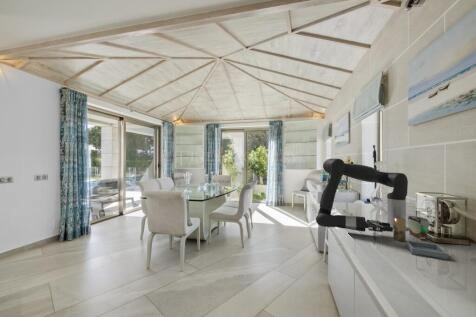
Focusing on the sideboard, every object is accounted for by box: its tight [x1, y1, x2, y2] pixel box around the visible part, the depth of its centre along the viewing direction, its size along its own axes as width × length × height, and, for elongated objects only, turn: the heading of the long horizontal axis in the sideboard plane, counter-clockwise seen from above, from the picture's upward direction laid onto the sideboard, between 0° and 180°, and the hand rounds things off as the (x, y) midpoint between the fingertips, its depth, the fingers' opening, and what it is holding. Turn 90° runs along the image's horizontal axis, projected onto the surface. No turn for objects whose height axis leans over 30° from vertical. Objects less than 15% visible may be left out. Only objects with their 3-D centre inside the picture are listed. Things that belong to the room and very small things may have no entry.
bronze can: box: [392, 217, 407, 243], centre depth 110 cm, size 5×5×11 cm
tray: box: [405, 239, 449, 261], centre depth 95 cm, size 12×12×2 cm
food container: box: [407, 215, 431, 241], centre depth 115 cm, size 12×6×10 cm, turn 168°
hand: (391, 227), depth 111 cm, fingers open, 8 cm apart
